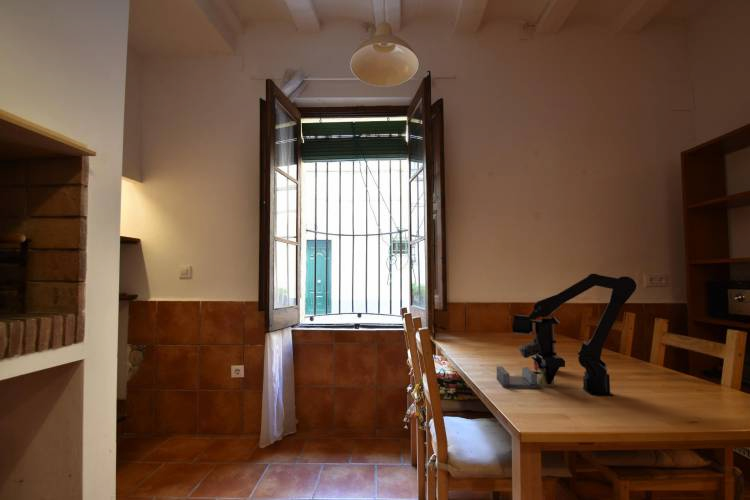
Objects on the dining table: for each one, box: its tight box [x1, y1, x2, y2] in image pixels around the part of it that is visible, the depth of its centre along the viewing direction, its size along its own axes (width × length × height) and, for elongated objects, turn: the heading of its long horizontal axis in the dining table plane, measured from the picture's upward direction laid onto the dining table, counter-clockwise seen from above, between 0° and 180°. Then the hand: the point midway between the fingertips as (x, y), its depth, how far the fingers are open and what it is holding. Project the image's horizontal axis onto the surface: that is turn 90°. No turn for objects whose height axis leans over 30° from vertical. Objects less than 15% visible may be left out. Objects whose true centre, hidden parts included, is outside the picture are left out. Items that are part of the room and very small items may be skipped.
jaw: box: [521, 366, 538, 384], centre depth 126 cm, size 5×10×3 cm, turn 174°
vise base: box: [496, 365, 541, 390], centre depth 127 cm, size 12×10×5 cm
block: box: [537, 369, 555, 388], centre depth 126 cm, size 4×4×5 cm
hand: (546, 381), depth 126 cm, fingers open, 5 cm apart
